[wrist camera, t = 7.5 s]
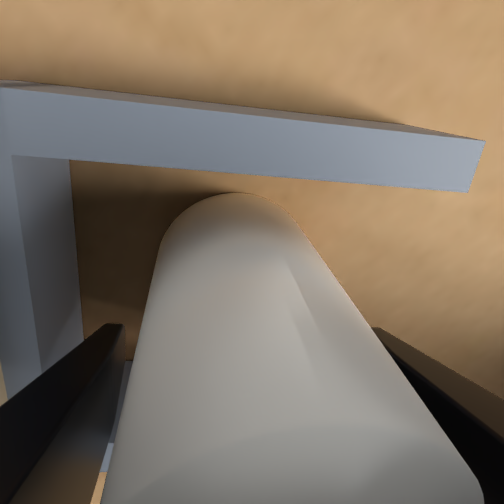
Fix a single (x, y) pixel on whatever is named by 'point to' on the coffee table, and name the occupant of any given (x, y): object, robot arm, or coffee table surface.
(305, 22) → the coffee table surface
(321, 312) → the roll
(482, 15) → the coffee table surface
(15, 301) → the bracket
